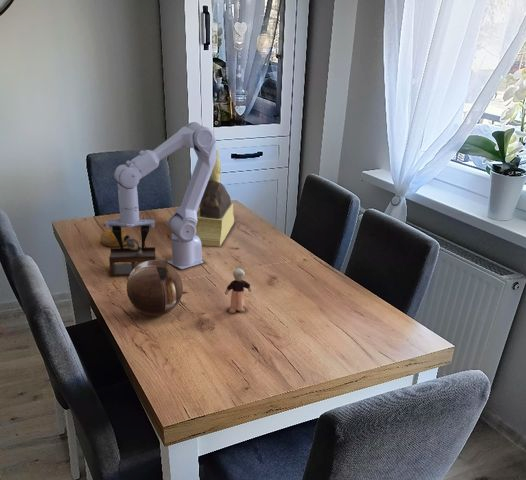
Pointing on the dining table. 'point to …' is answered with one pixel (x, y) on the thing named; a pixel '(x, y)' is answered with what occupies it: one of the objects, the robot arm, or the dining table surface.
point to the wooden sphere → (154, 287)
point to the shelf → (128, 259)
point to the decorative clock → (214, 210)
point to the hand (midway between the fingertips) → (132, 249)
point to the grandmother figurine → (237, 291)
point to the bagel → (111, 239)
